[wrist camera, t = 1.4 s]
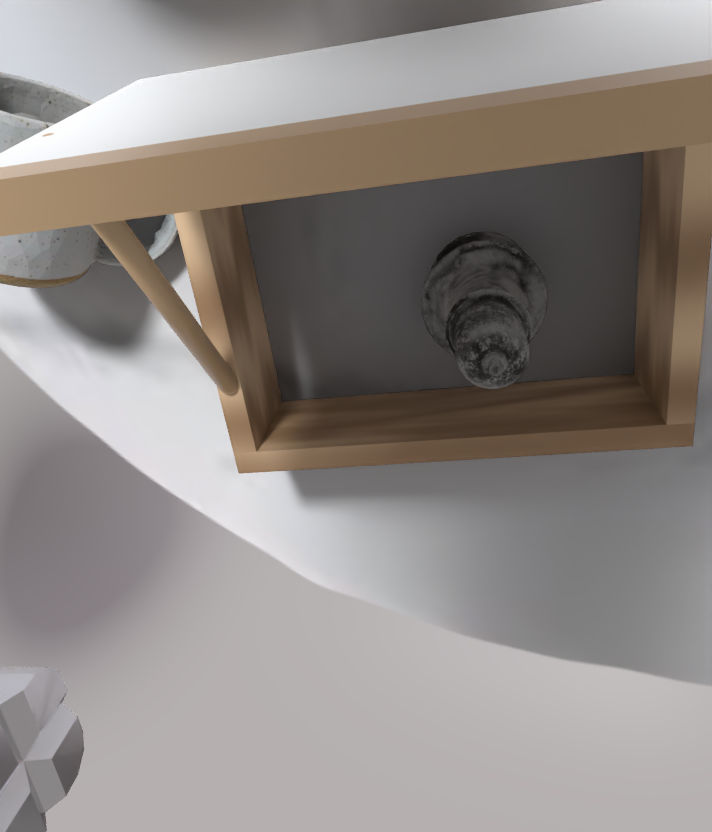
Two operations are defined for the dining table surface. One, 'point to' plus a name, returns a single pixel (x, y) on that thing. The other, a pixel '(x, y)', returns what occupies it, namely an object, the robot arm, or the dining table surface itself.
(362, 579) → the dining table surface
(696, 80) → the propped lid
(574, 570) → the dining table surface
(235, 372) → the cold frame
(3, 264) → the ceramic mug
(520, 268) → the dark grey turned piece
